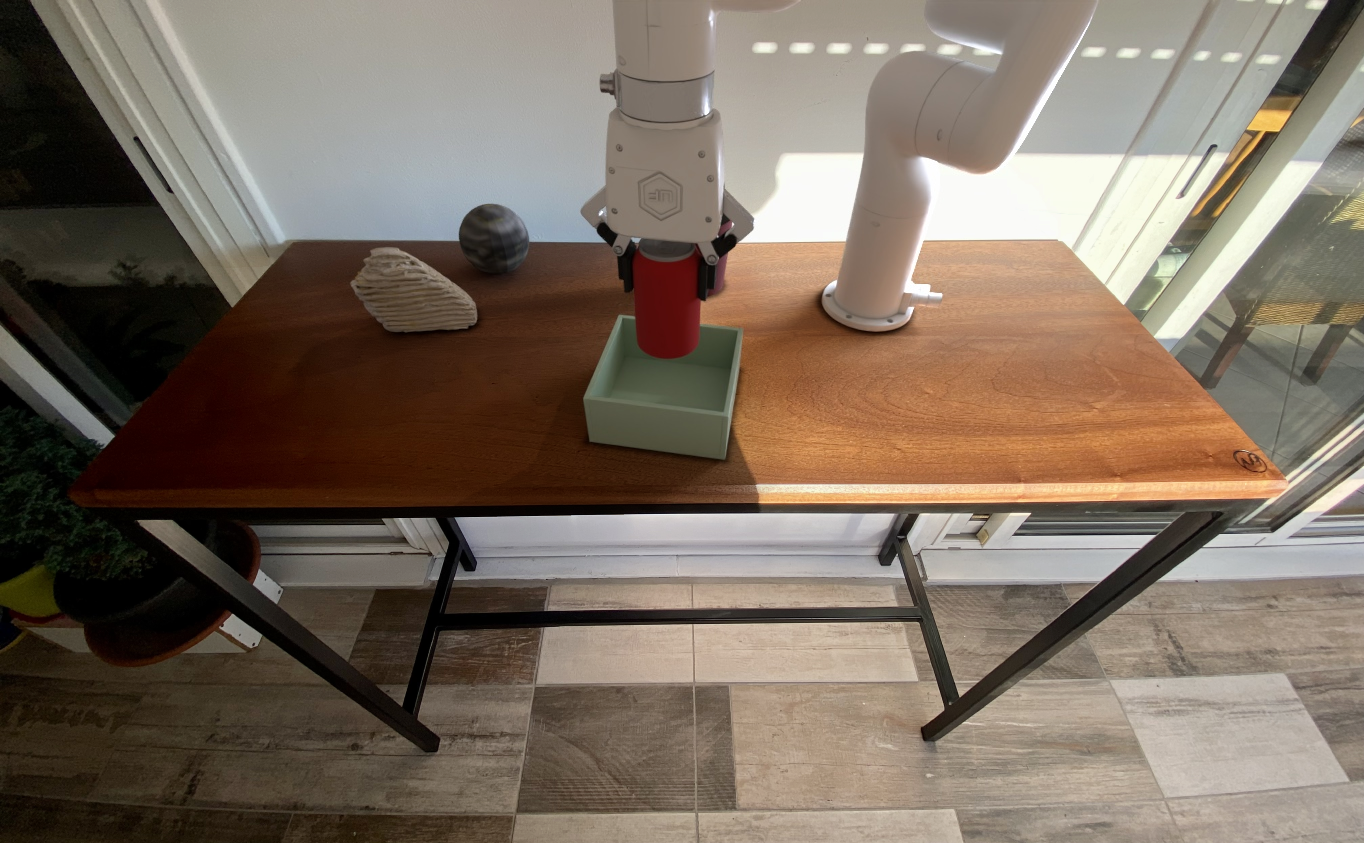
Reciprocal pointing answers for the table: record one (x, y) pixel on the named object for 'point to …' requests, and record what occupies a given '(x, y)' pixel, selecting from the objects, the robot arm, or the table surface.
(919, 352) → the table surface
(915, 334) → the table surface
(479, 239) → the decorative stone
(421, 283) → the fossil tooth
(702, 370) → the sage green storage bin
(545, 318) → the table surface
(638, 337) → the beverage can
